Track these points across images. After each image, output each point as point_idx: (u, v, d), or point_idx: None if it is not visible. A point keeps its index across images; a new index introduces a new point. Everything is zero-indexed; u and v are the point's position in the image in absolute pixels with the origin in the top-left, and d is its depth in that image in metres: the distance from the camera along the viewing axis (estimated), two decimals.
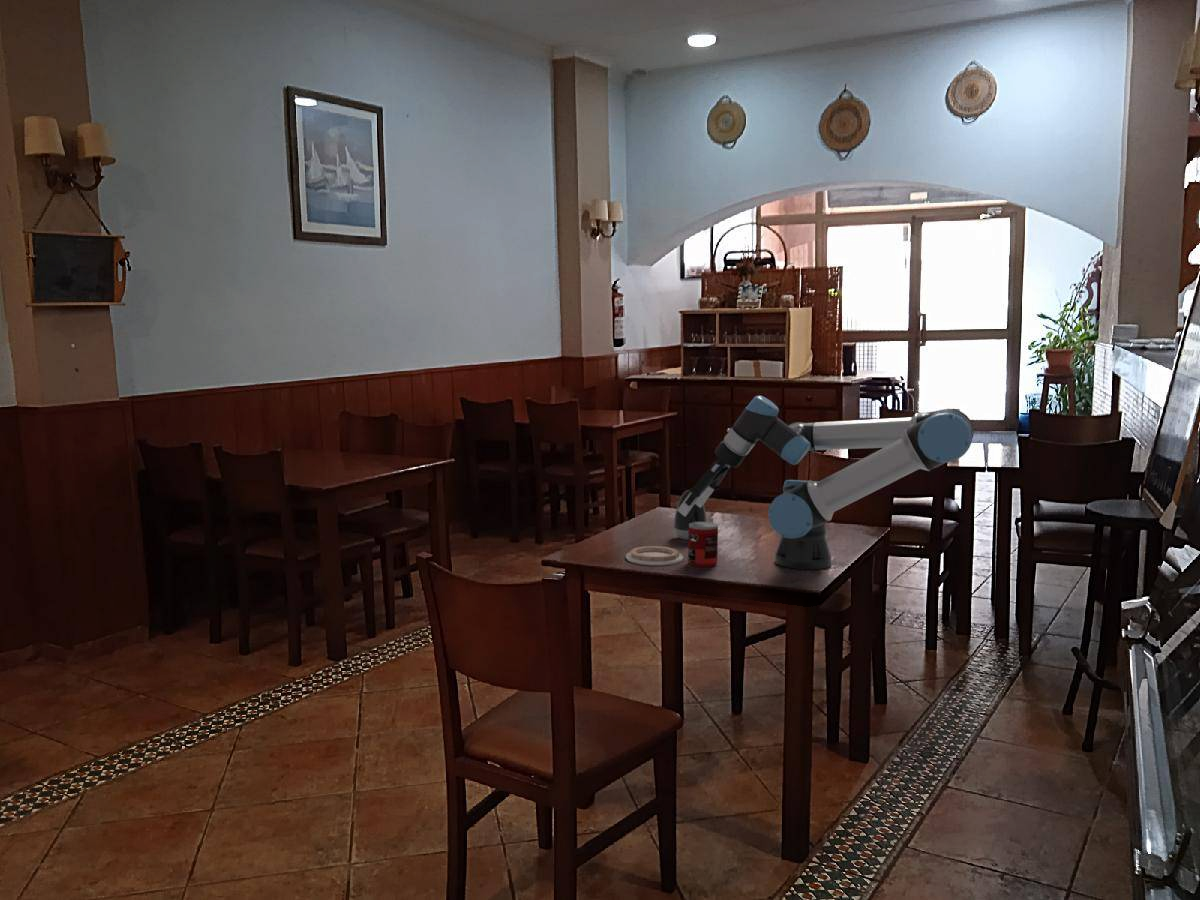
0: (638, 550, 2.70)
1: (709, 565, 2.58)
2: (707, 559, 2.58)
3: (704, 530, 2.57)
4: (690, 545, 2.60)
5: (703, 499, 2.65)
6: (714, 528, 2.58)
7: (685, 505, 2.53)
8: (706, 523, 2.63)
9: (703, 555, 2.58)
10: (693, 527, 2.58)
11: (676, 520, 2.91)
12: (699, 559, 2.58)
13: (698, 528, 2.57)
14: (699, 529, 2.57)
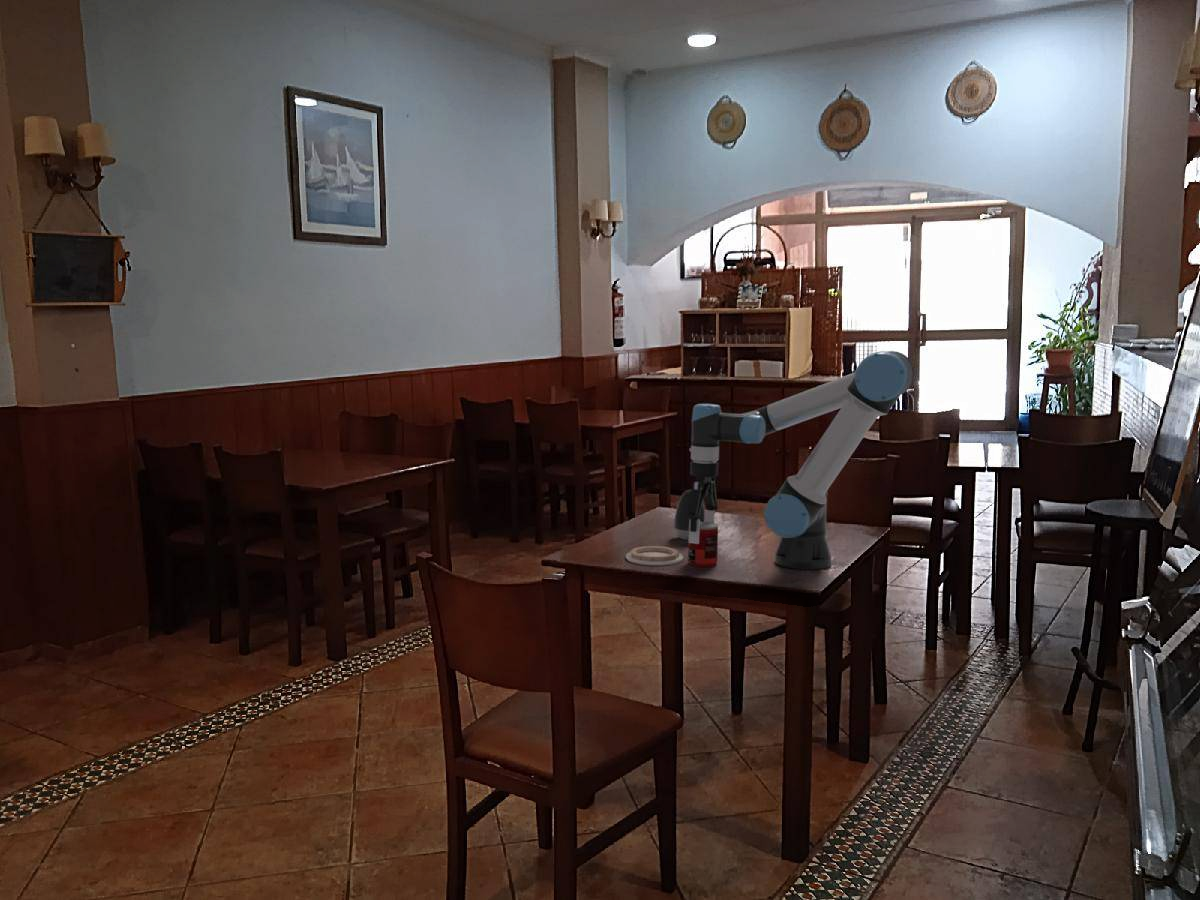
0: (638, 550, 2.70)
1: (709, 565, 2.58)
2: (707, 559, 2.58)
3: (704, 530, 2.57)
4: (690, 545, 2.60)
5: None
6: (714, 528, 2.58)
7: (692, 533, 2.54)
8: (706, 523, 2.63)
9: (703, 555, 2.58)
10: None
11: (676, 520, 2.91)
12: (699, 559, 2.58)
13: None
14: None
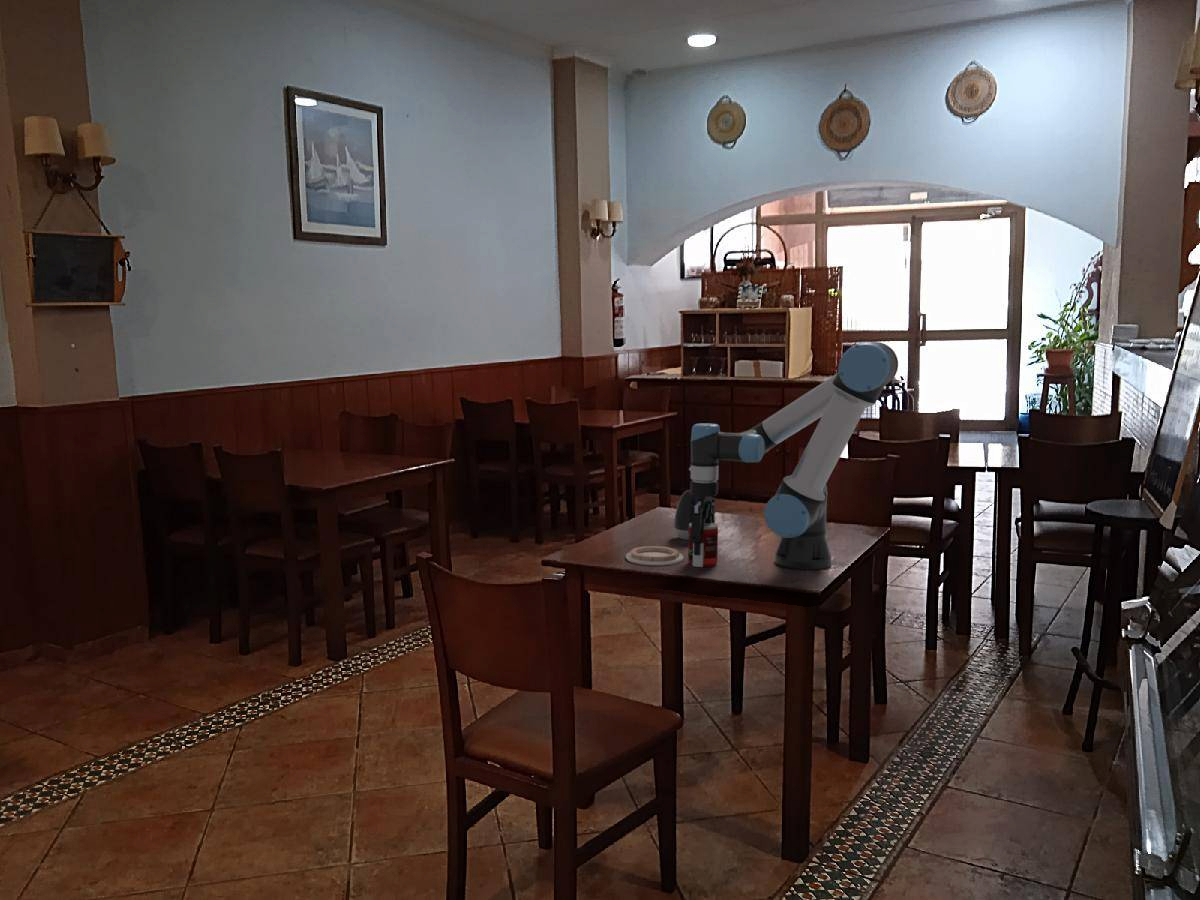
0: (638, 550, 2.70)
1: (709, 565, 2.58)
2: (707, 559, 2.58)
3: (704, 530, 2.57)
4: (690, 545, 2.60)
5: None
6: (714, 528, 2.58)
7: (696, 557, 2.58)
8: (706, 523, 2.63)
9: (703, 555, 2.58)
10: None
11: (676, 520, 2.91)
12: None
13: None
14: None
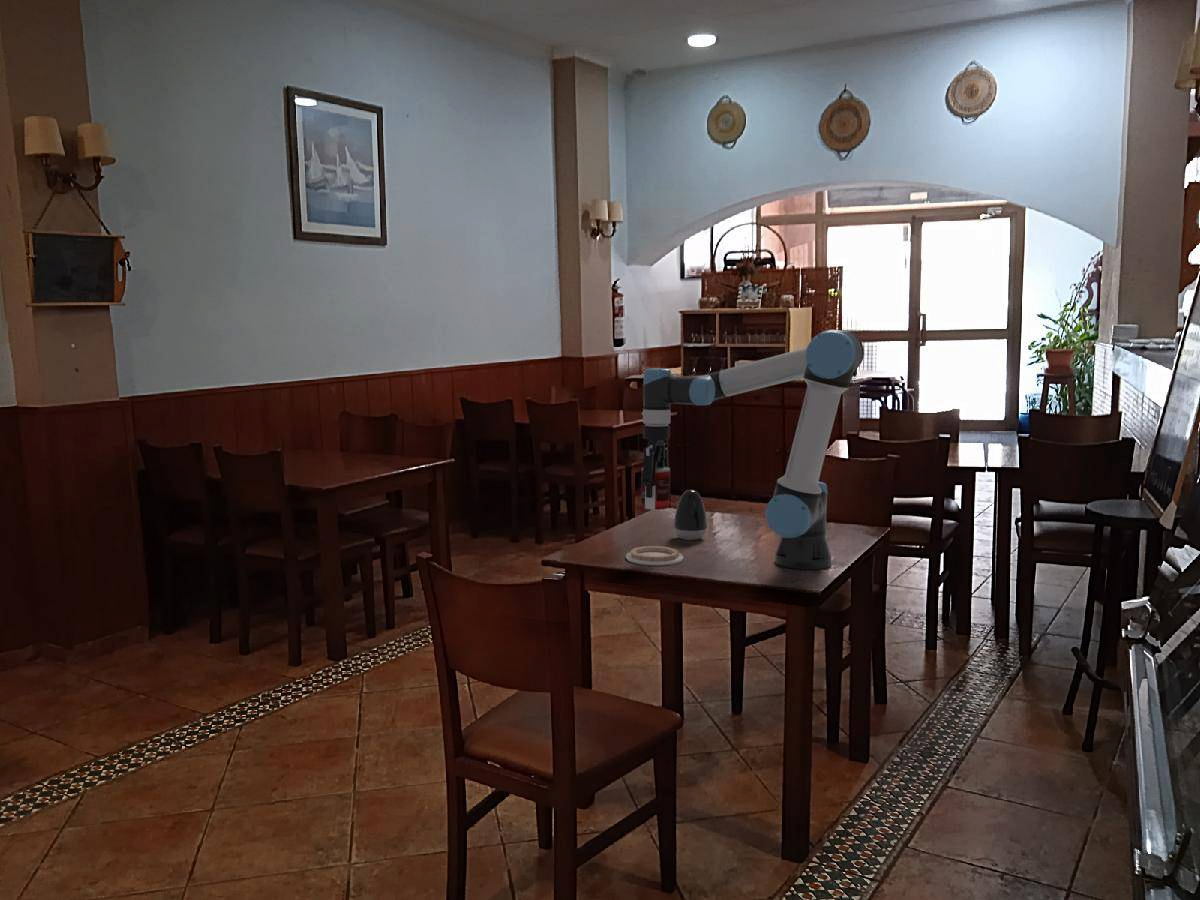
0: (638, 550, 2.70)
1: (661, 508, 2.62)
2: (658, 501, 2.62)
3: (656, 473, 2.60)
4: (642, 488, 2.63)
5: None
6: (666, 471, 2.61)
7: (648, 499, 2.61)
8: (659, 467, 2.67)
9: (655, 498, 2.61)
10: None
11: (676, 520, 2.91)
12: None
13: None
14: None
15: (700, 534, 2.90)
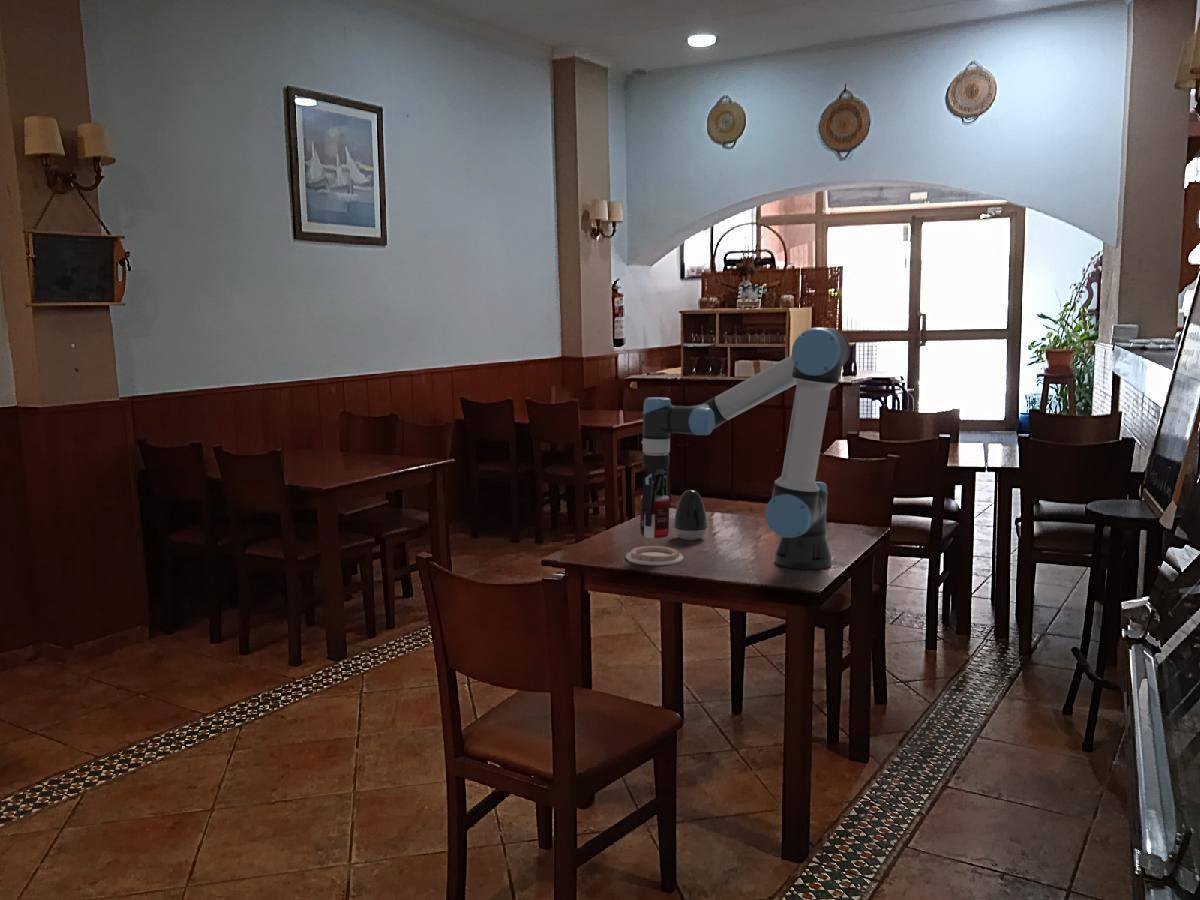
0: (638, 550, 2.70)
1: (660, 536, 2.63)
2: (657, 530, 2.63)
3: (655, 502, 2.62)
4: (642, 516, 2.64)
5: None
6: (665, 500, 2.62)
7: (647, 528, 2.62)
8: (658, 495, 2.68)
9: None
10: None
11: (676, 520, 2.91)
12: None
13: None
14: None
15: (700, 534, 2.90)
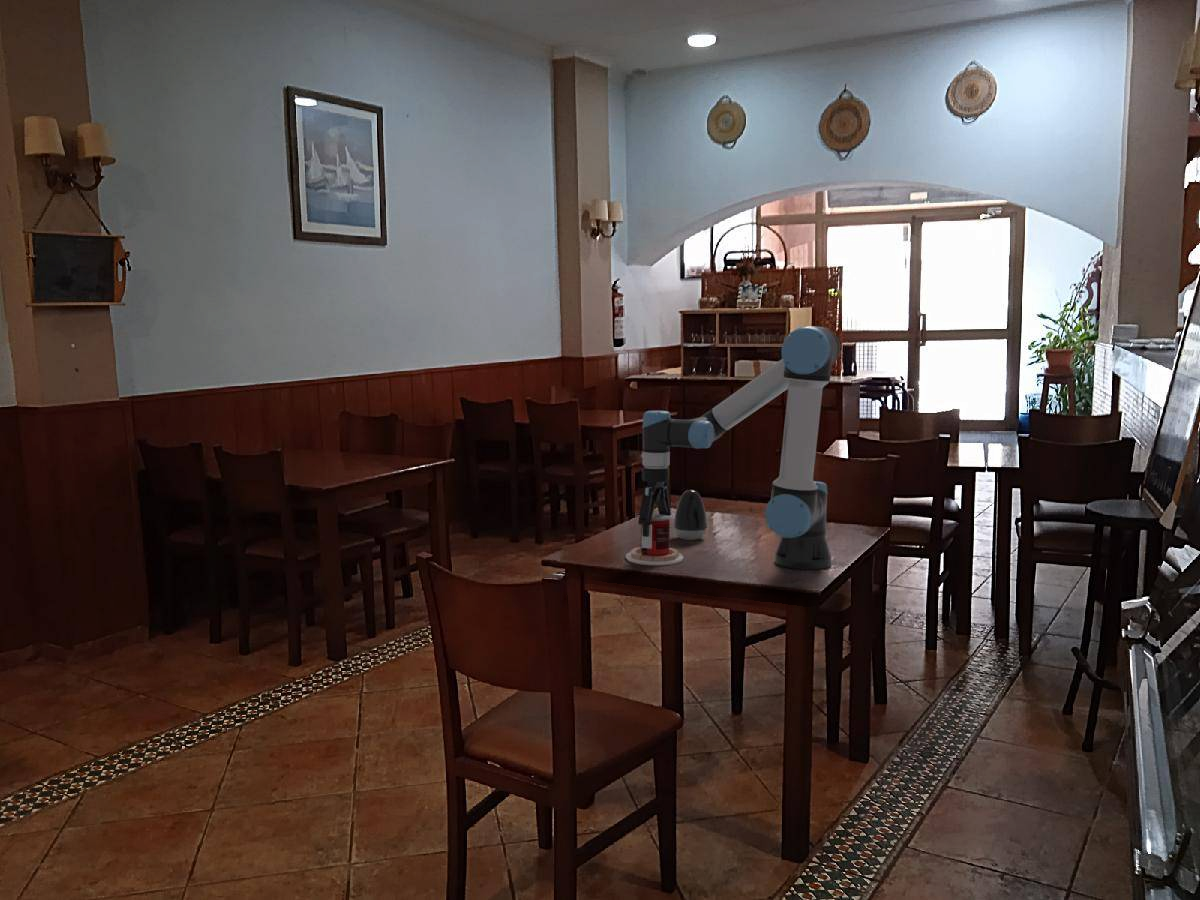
0: (638, 550, 2.70)
1: None
2: (658, 550, 2.63)
3: (656, 521, 2.63)
4: None
5: None
6: (665, 519, 2.64)
7: (645, 538, 2.60)
8: (658, 515, 2.69)
9: (655, 546, 2.63)
10: None
11: (676, 520, 2.91)
12: (651, 549, 2.64)
13: None
14: None
15: (700, 534, 2.90)
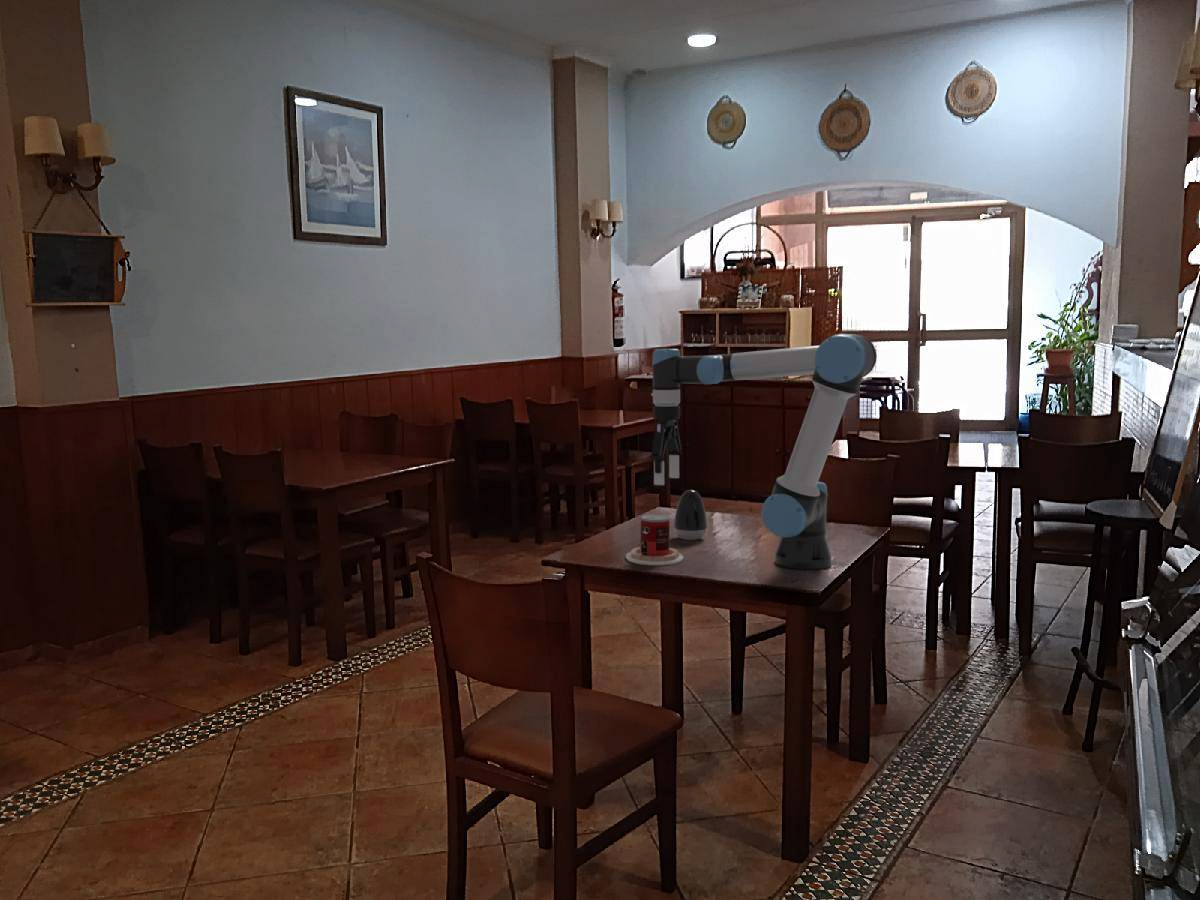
0: (638, 550, 2.70)
1: None
2: (658, 551, 2.63)
3: (655, 523, 2.62)
4: (642, 537, 2.65)
5: (676, 469, 2.71)
6: (665, 521, 2.63)
7: (657, 475, 2.59)
8: (658, 516, 2.68)
9: (654, 547, 2.63)
10: (644, 520, 2.64)
11: (676, 520, 2.91)
12: (651, 551, 2.63)
13: (649, 521, 2.63)
14: (650, 522, 2.62)
15: (700, 534, 2.90)
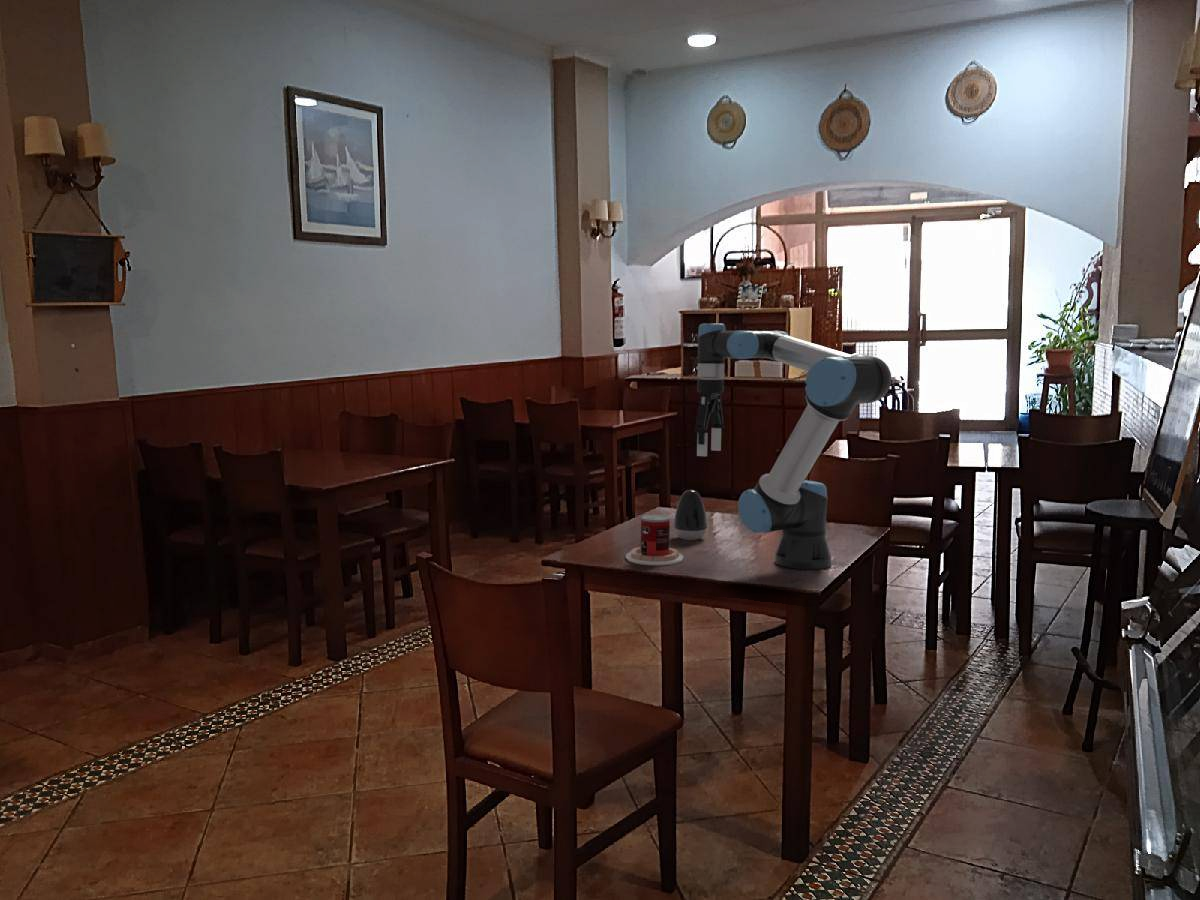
0: (638, 550, 2.70)
1: None
2: (658, 551, 2.63)
3: (655, 523, 2.62)
4: (642, 537, 2.65)
5: (717, 441, 2.77)
6: (665, 521, 2.63)
7: (700, 446, 2.65)
8: (659, 516, 2.68)
9: (654, 547, 2.63)
10: (645, 520, 2.64)
11: (676, 520, 2.91)
12: (651, 551, 2.63)
13: (649, 520, 2.63)
14: (650, 521, 2.63)
15: (700, 534, 2.90)
